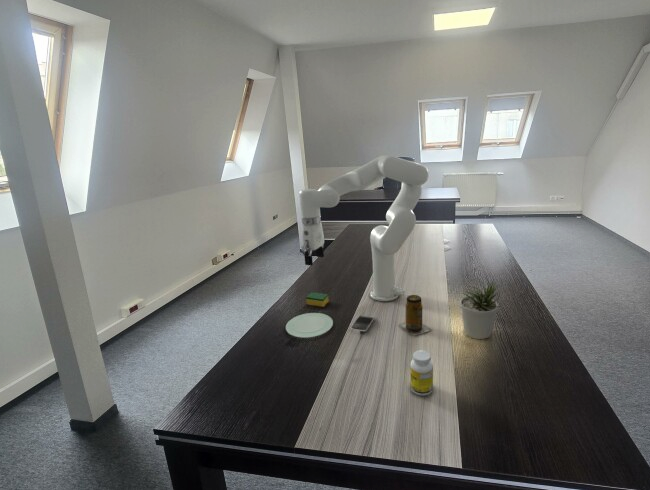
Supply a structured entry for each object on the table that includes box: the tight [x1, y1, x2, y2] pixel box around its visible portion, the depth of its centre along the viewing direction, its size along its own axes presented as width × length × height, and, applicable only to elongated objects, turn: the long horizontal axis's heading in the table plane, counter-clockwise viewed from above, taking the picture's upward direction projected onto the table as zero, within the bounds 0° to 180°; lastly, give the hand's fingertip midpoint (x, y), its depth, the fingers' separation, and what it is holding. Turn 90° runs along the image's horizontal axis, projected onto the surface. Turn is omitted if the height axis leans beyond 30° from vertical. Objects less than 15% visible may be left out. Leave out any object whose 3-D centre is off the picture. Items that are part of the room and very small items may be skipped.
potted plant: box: [459, 281, 501, 340], centre depth 124 cm, size 13×14×20 cm
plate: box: [285, 312, 334, 338], centre depth 137 cm, size 18×18×1 cm
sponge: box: [305, 291, 330, 307], centre depth 154 cm, size 8×5×4 cm, turn 68°
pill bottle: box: [409, 349, 434, 396], centre depth 100 cm, size 6×6×11 cm
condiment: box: [400, 294, 431, 337], centre depth 131 cm, size 7×8×12 cm
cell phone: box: [350, 315, 375, 334], centre depth 136 cm, size 6×11×1 cm, turn 158°
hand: (314, 260), depth 148 cm, fingers open, 9 cm apart
